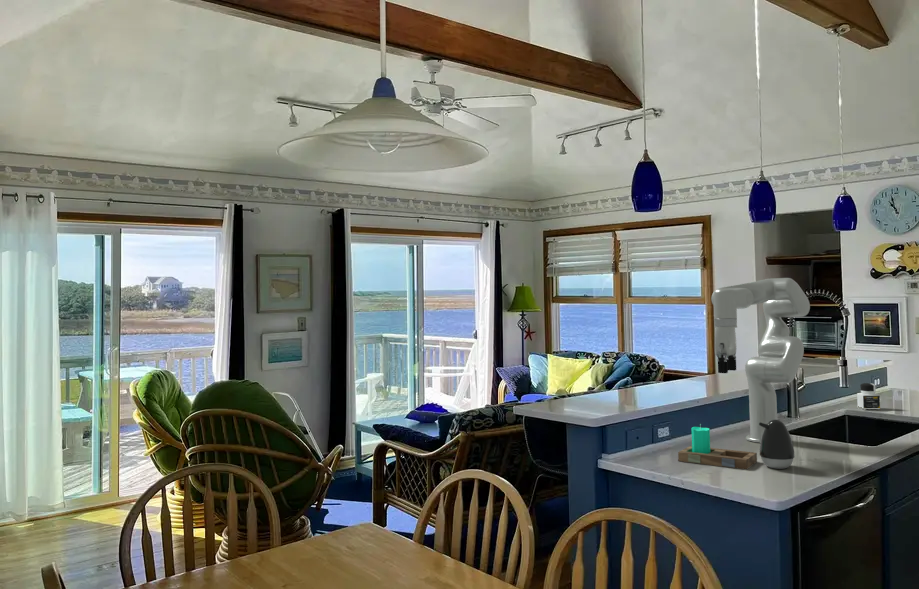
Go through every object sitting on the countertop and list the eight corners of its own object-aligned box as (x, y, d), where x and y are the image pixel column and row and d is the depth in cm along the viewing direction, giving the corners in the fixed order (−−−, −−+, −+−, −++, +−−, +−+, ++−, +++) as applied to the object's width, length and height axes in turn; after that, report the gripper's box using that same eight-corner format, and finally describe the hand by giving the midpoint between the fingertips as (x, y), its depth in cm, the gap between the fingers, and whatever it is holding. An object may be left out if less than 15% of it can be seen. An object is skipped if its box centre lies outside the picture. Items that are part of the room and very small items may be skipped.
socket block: (691, 454, 240) (690, 445, 240) (756, 461, 226) (756, 452, 227) (678, 461, 230) (677, 452, 230) (746, 469, 217) (745, 460, 217)
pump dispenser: (754, 463, 224) (752, 417, 224) (786, 462, 224) (784, 416, 224) (767, 471, 214) (765, 422, 214) (800, 470, 214) (799, 422, 214)
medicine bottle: (863, 410, 316) (862, 384, 316) (857, 408, 323) (856, 382, 323) (880, 410, 315) (879, 384, 315) (873, 407, 322) (872, 382, 322)
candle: (688, 458, 234) (687, 423, 234) (702, 456, 236) (700, 421, 236) (701, 462, 228) (699, 426, 229) (714, 459, 231) (713, 424, 231)
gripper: (722, 322, 252) (724, 368, 252) (706, 324, 239) (708, 373, 238) (743, 322, 247) (745, 369, 247) (728, 324, 234) (730, 374, 234)
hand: (727, 371), depth 243 cm, fingers open, 9 cm apart
